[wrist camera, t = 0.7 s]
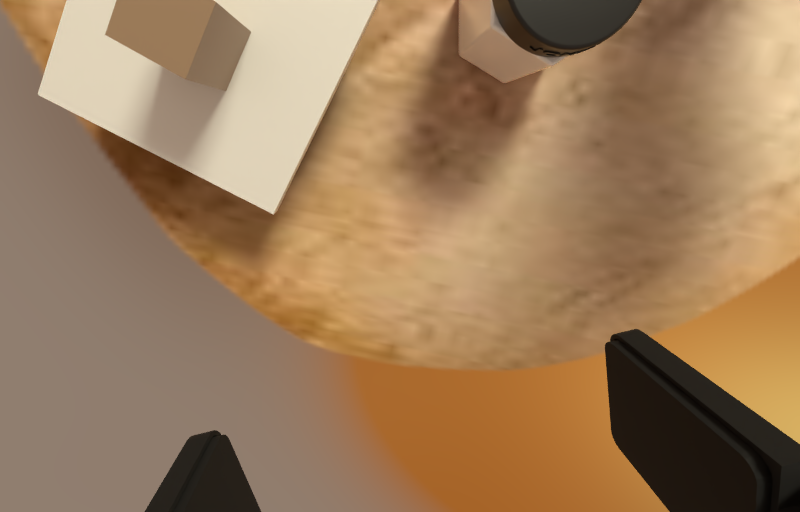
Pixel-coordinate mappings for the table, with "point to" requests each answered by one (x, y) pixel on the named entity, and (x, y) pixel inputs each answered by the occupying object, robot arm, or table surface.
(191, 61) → the lid
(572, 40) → the jar
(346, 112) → the table surface
